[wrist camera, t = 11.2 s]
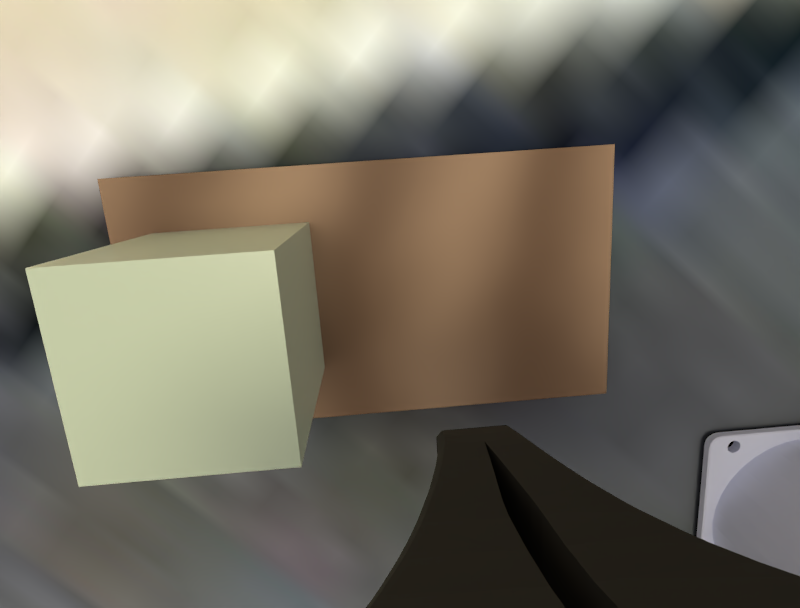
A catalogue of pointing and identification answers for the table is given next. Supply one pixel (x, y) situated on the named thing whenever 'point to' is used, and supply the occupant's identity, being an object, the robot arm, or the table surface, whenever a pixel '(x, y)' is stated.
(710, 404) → the table surface
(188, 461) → the pale green block
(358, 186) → the board
